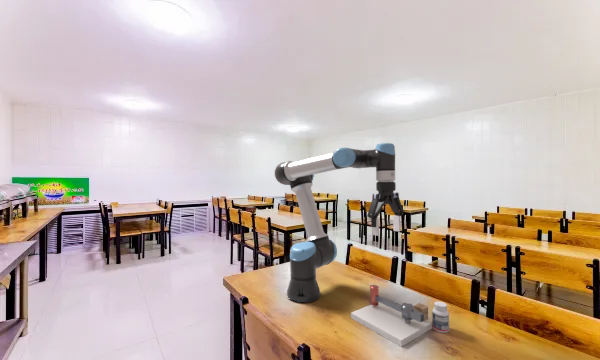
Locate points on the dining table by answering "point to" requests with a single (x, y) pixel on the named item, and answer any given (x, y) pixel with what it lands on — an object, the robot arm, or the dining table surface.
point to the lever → (395, 305)
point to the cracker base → (390, 323)
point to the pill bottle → (440, 317)
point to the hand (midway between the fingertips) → (386, 233)
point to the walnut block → (422, 309)
